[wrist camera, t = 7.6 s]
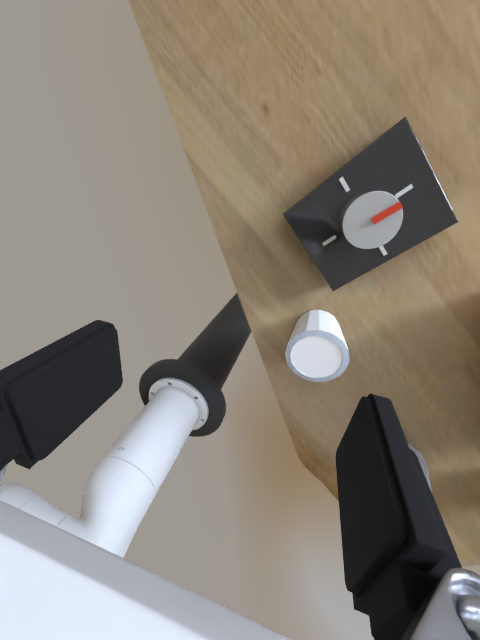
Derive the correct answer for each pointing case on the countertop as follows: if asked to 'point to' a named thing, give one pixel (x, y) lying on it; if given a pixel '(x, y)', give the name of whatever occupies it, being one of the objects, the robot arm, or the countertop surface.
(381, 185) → the hob panel
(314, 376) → the shot glass
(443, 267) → the countertop surface
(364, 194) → the hob knob
